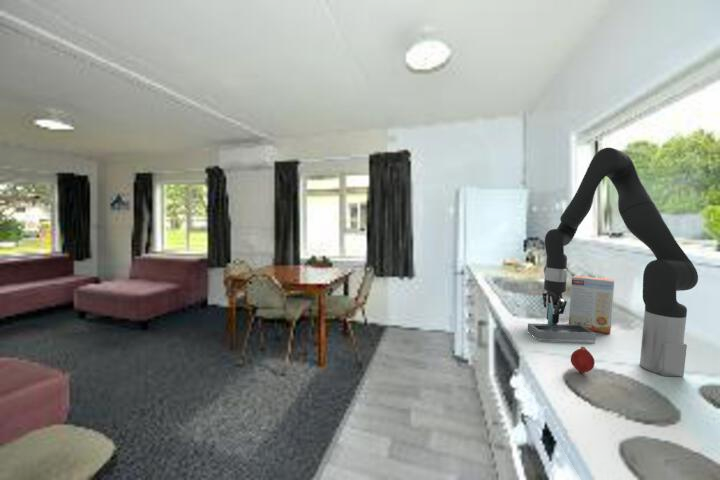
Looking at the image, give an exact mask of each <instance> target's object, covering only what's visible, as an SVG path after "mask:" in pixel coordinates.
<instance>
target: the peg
mask: <svg viewBox="0 0 720 480" xmlns="http://www.w3.org/2000/svg"><path fill="white" fill-rule="evenodd" d="M554 306H557V305H554ZM555 311H556V308H555ZM552 314H553V310H552V307H551V304H549V310H548V320H547V324H558V323H552Z"/></svg>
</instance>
